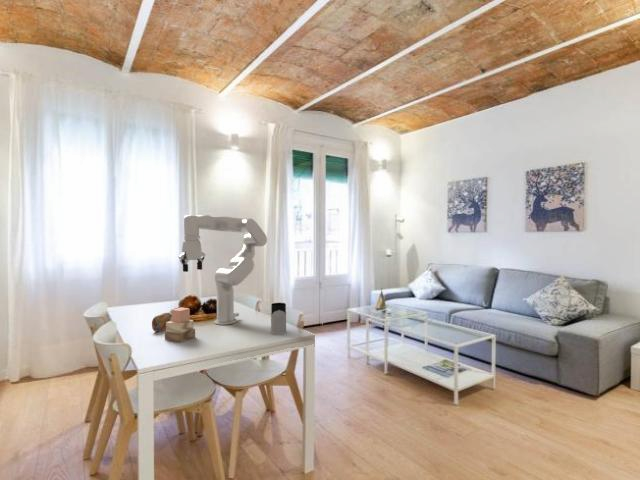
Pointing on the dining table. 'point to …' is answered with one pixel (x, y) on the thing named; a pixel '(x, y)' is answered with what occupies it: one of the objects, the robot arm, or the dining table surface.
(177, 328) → the top block
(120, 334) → the dining table surface
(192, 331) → the base block
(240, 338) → the dining table surface
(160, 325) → the brown rounded slab
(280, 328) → the glass holder
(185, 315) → the cube
